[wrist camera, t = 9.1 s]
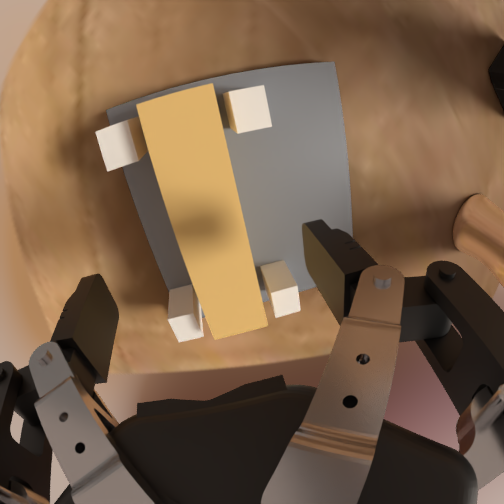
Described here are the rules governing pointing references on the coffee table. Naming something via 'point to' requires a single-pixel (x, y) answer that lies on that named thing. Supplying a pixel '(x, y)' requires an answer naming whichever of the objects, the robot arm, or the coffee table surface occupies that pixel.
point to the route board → (251, 178)
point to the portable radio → (498, 75)
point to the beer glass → (481, 233)
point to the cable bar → (204, 206)
